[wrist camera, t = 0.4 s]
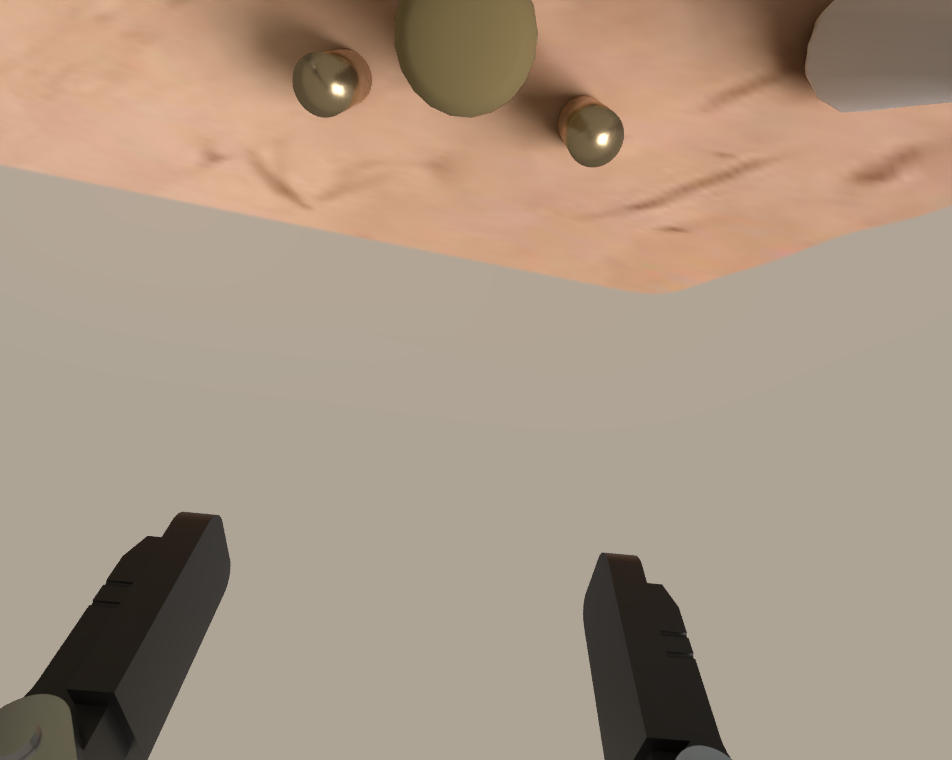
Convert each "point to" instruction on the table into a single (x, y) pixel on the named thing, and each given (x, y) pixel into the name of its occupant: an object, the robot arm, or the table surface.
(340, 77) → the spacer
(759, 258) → the table surface
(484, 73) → the cork
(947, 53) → the salt shaker
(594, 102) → the cylinder
